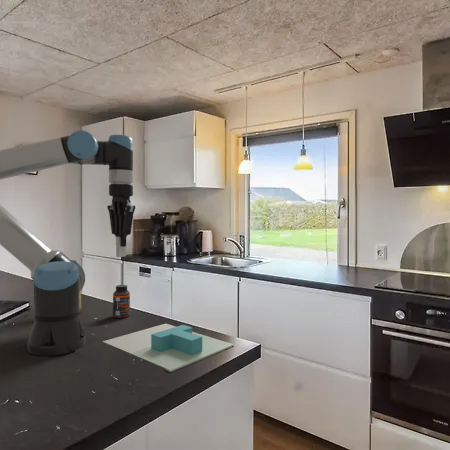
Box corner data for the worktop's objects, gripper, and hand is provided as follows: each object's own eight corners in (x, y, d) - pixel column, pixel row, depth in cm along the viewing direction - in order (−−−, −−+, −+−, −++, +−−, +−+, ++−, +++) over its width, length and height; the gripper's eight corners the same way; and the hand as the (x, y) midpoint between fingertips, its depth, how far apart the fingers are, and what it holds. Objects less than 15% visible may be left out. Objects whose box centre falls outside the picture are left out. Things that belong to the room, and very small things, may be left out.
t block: (180, 359, 99) (180, 344, 99) (151, 348, 107) (151, 334, 107) (212, 347, 109) (212, 333, 108) (182, 337, 116) (182, 324, 116)
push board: (170, 372, 93) (170, 370, 93) (102, 343, 112) (102, 341, 112) (233, 346, 111) (233, 344, 111) (165, 324, 131) (165, 323, 131)
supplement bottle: (119, 319, 136) (119, 288, 136) (109, 316, 140) (109, 285, 140) (133, 316, 141) (133, 285, 141) (122, 313, 145) (122, 283, 144)
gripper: (142, 183, 123) (142, 257, 124) (120, 185, 132) (120, 253, 133) (122, 182, 118) (122, 259, 119) (100, 184, 126) (100, 255, 127)
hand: (121, 256), depth 126 cm, fingers closed
